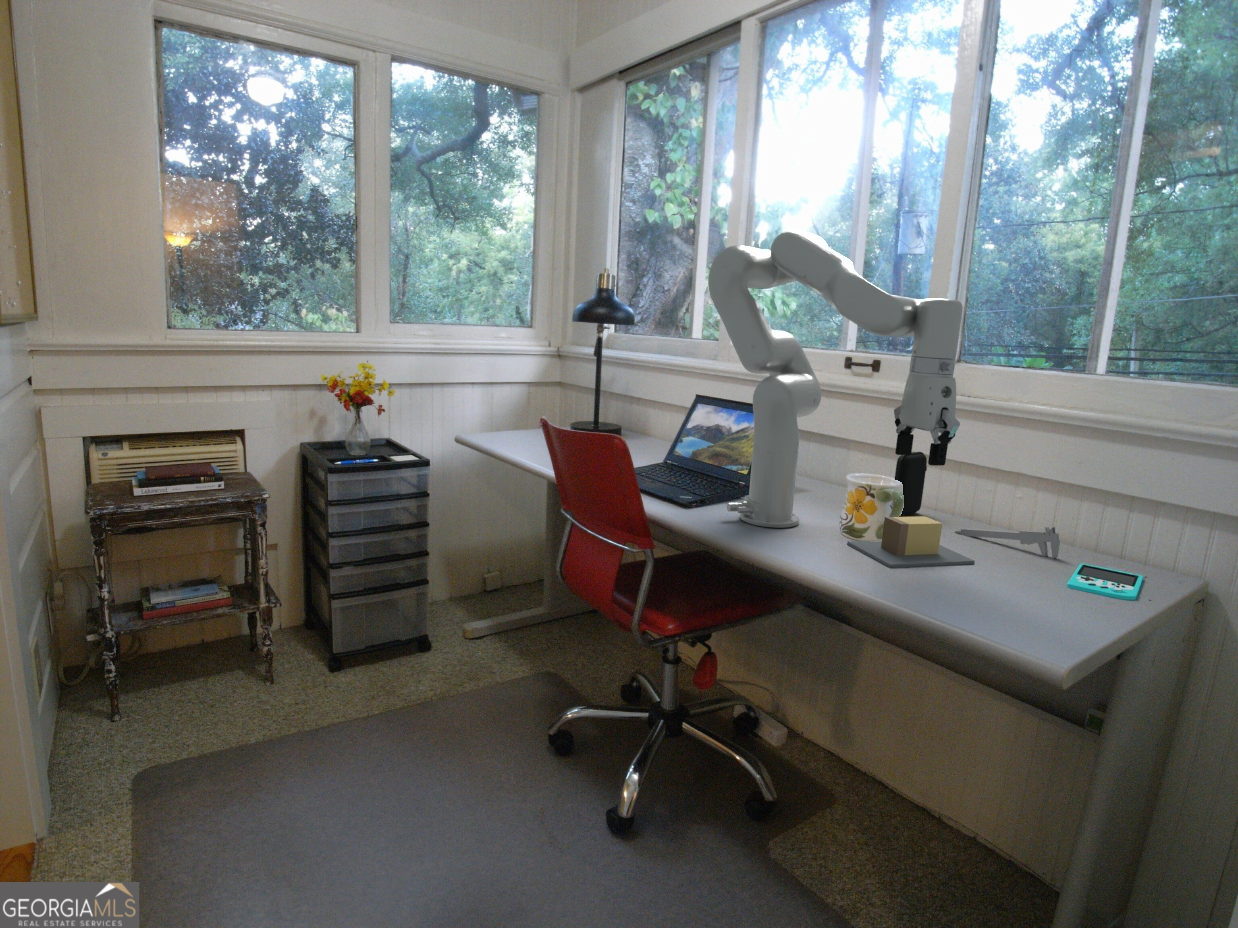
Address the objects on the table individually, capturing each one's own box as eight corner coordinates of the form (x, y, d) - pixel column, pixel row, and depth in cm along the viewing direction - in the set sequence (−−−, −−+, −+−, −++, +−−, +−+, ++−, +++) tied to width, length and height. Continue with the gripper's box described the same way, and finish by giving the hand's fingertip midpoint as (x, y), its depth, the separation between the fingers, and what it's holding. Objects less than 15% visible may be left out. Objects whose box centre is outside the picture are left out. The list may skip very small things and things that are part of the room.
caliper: (1057, 559, 144) (1062, 528, 143) (1054, 560, 144) (1060, 529, 142) (956, 533, 160) (960, 504, 159) (954, 533, 159) (958, 505, 158)
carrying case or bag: (913, 510, 177) (921, 449, 174) (925, 513, 175) (933, 452, 172) (887, 515, 171) (894, 452, 168) (898, 519, 169) (906, 455, 166)
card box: (938, 554, 141) (942, 523, 140) (897, 555, 139) (901, 524, 137) (920, 546, 146) (924, 516, 145) (880, 547, 143) (884, 516, 142)
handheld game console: (1064, 589, 128) (1065, 582, 128) (1078, 568, 140) (1079, 561, 140) (1134, 605, 122) (1135, 597, 122) (1142, 581, 134) (1143, 574, 134)
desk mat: (890, 567, 133) (890, 564, 133) (847, 544, 147) (847, 541, 146) (974, 563, 138) (974, 560, 138) (925, 541, 151) (925, 538, 151)
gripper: (983, 372, 128) (968, 469, 132) (919, 364, 145) (907, 451, 148) (946, 371, 127) (932, 469, 130) (885, 363, 143) (874, 451, 146)
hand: (919, 459), depth 139 cm, fingers open, 9 cm apart
